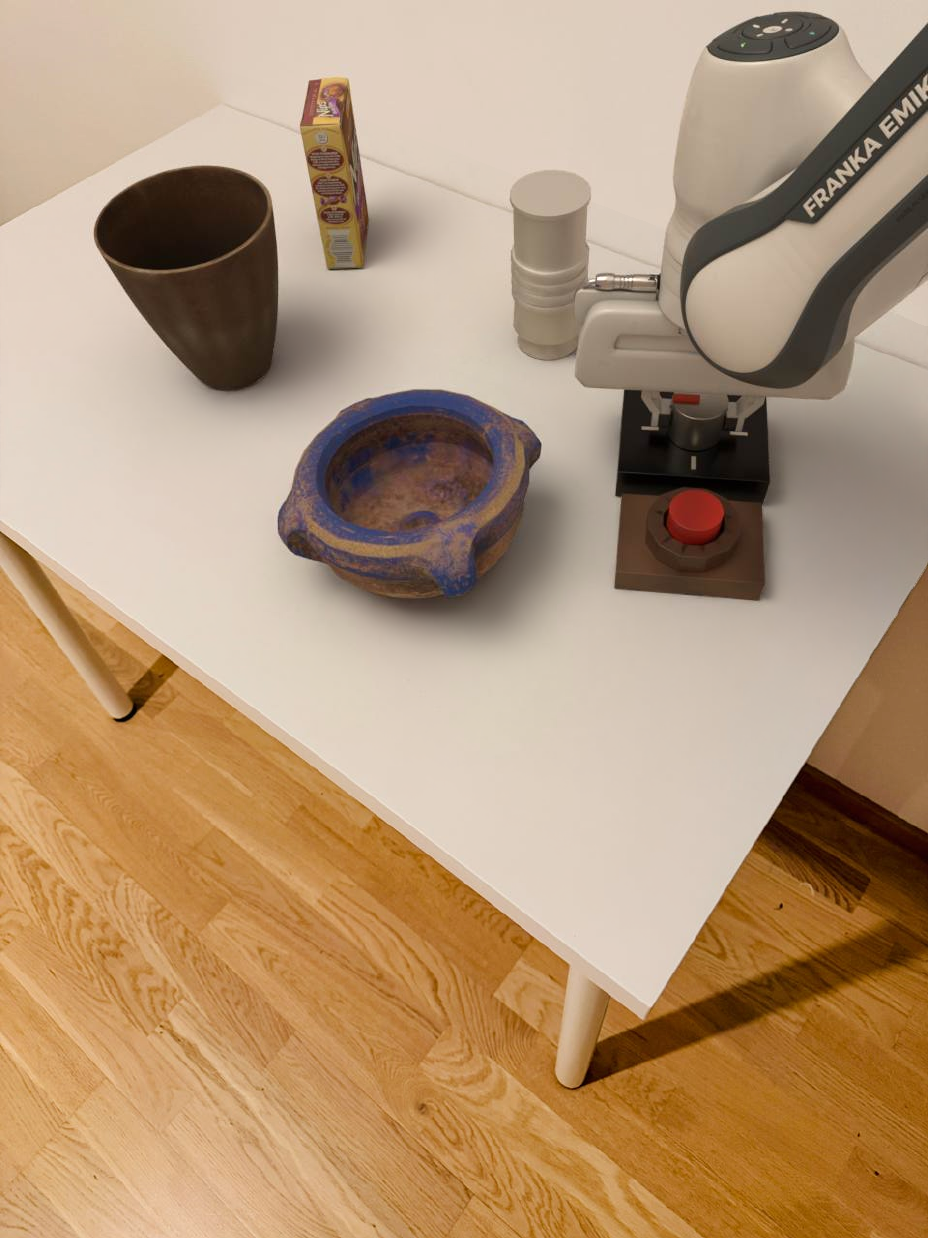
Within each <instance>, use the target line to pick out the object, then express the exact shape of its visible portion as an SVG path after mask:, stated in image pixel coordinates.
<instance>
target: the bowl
mask: <svg viewBox="0 0 928 1238" xmlns="http://www.w3.org/2000/svg"><path fill="white" fill-rule="evenodd" d="M541 453H542V442H541V440H540V439H539V437H538V436H537V435H536V433H535V432H534V431H533V430H532V429H531V427H529V426H528V424H526V423H525V422H524V420H521V419H518V418H515V417H512V416H511V415H509V414H507V413H505V412H504V411H502V410H500V409H498V408H496V407H494V406H492V405H490V404H487V403H485V402H484V401H482V400H479V399H477V398H475V397H473V396H471V395H468V394H464V393H461V392H455V391H451V390H447V389H437V388H433V389H432V388H412V389H406V390H402V391H397V392H392V393H386V394H382V395H379V396H375V397H366V398H364V399H362V400H359V401H356V402H354V403H352V404H350V405H349V406H347V407H345V408H343V409H342V410H340V411H339V412H338V413H337V415H336V416H335V418H334V419H333V420H332V421H330V422H329V423H327V425H326V426H325V427H324V428H322V429H321V430H320V431H318V433H317V434H316V435H315V436H314V437H313V439H312V440H311V442H309V444H308V445H307V446H306V447H305V449H304V450H303V452H302V454H301V456H300V458H299V460H298V462H297V464H296V467H295V469H294V474H293V479H292V483H291V489H290V490H289V493H288V495H287V497H286V499H285V501H284V502H283V503H282V505H281V507H280V508H279V510H278V514H277V534H278V536H279V537H280V540H281V542H282V543H283V544H284V545H285V547H286V548H287V549H288V551H289V552H290V553H292V554H293V555H294V556H297V557H301V558H304V559H306V560H311V561H314V562H317V563H322V564H325V565H327V566H328V567H329V568H330V569H331V570H332V571H333V572H334V573H335V574H336V575H337V576H339V577H340V578H342V579H343V580H345V581H347V582H348V583H350V584H352V585H353V586H355V587H357V588H359V589H362V590H365V591H368V592H371V593H374V594H377V595H380V596H385V597H392V598H398V599H427V598H434V597H437V596H438V597H439V596H442V595H445V596H448V597H450V598H454V597H460V596H463V595H465V594H466V593H468V592H469V591H470V590H471V589H472V588H473V587H474V586H475V585H476V583H477V582H478V579H479V578H481V577H482V576H484V575H485V574H486V573H487V572H488V571H489V570H490V569H492V567H493V566H494V565H495V564H496V563H497V562H498V561H499V560H500V559H501V558H502V557H503V555H504V554H505V553H506V552H507V551H508V549H509V547H510V546H511V544H512V543H513V540H514V538H515V537H516V534H517V532H518V530H519V527H520V524H521V520H522V518H523V514H524V511H525V500H526V496H527V493H528V490H529V486H530V470H531V469H532V467H533V466H534V465H535V463H536V462H537V461H538V460H539V459H540V458H541Z"/></svg>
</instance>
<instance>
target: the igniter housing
mask: <svg viewBox="0 0 928 1238" xmlns="http://www.w3.org/2000/svg"><path fill="white" fill-rule="evenodd" d="M689 490H700V491H705V492H708V493H710V494H712V495H713V496H715V497H716V498H717V499H718V500H719V501H720V502H721V504H722V506H723V509H724V516H723V520H722V523H721V527H720V531H719V533H718V535H717V536H716V537H715V538H714V539H713V540H712V541H710V542H708V543H706V544H702V545H689V544H685V543H682V542H680V541H678V540H677V539H675V538H674V537H673V536H672V535H671V534H670V532H669V530H668V528H667V517H668V512H669V506H670V503H671V501H672V500H673V498H674V497H675V496H677V495H678V494H680V493H682V492H685V491H689ZM620 499H621V500H620V507H619V519H618V533H617V542H616V544H617V546H616V559H615V570H614V571H615V572H614V585H613V588H614V589H617V590H627V591H628V590H629V591H639V592H640V591H642V592H651V593H652V592H653V593H665V594H677V595H691V596H700V597H714V598H726V599H727V598H728V599H739V600H748V601H749V600H751V601H760V599H761V596H762V595H763V594H762V593H763V591H764V588H765V585H766V570H765V569H766V568H765V567H766V566H765V543H764V515H763V511H764V510H763V506H762V503H758V502H743V501H729V500H727V498H724V497H722V496H720V495H718V494H716V493H714V492H712V491H710V490H708V489H703V488H688V487H683V488H679V489H676V490H673V491H671V492H668V493H665V494H662V495H661V496H654V495H640V494H625V493H622V497H620Z"/></svg>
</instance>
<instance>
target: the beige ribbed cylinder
mask: <svg viewBox="0 0 928 1238" xmlns="http://www.w3.org/2000/svg"><path fill="white" fill-rule="evenodd" d="M591 199H592V187H591V186H590V184H589V182H588V181H587V180H586V179H585V178H584V177H582V176H581V175H579V174H576V173H574V172H571V171H567V170H561V169H544V170H537V171H534V172H532V173H531V172H530V173H529V174H526V175H524V176H522V177H521V178H519V179H518V180H516V182H514V184H512V185H511V188H510V190H509V202H510V205H511V207H512V211H513V214H512V215H513V246H512V248H511V250H510V262H511V263H510V272H511V279H510V280H511V281H510V282H511V283H510V284H511V296H512V299H513V301H514V305H513V319H512V321H513V322H512V326H513V329H514V331H515V332H516V334H517V335H518V337H517V344H518V346H519V348H520V349H521V352H523V353H524V354H525V355H527V356H529V357H531V358H534V359H538V360H543V361H553V360H558V359H563V358H564V357H567V356H569V355H570V354H571V353H573V352H574V351H575V350H577V347H578V340H579V333H580V328H581V325H579V324H578V322H577V321H576V319H575V317H574V313H573V304H574V293H575V291H576V289H577V288H578V286H579V285H580V284H582V283H583V282H585V281H587V280H589V261H590V260H589V258H590V247H589V246H590V245H588V242H587V222H588V221H587V220H588V206H589V204H590V201H591Z"/></svg>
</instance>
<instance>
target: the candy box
mask: <svg viewBox="0 0 928 1238" xmlns="http://www.w3.org/2000/svg"><path fill="white" fill-rule="evenodd" d="M350 87H351V86H350V81H349V78H347V77H338V76H337V77H326V78H319V79H309V80H308V82H307V89H306V94H305V100H304V105H303V110H302V116H301V120H300V123H299V130H300V134H301V139H302V146H303V150H304V155H305V161H306V167H307V171H308V172H307V173H308V176H309V182H310V185H311V192H312V197H313V204H314V208H315V213H316V218H317V223H318V229H319V234H320V239H321V243H322V249H323V254H324V255H323V256H324V261H325V265H326V269H327V270H340V269H341V270H343V269H362V268H364V263H365V251H366V244H367V237H368V230H369V223H370V216H369V210H368V204H367V203H368V202H367V196H366V188H365V183H364V176H363V168H362V160H361V154H360V148H359V147H360V146H359V141H358V136H357V127H356V121H355V115H354V114H355V113H354V109H353V103H352V93H351V88H350Z"/></svg>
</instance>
